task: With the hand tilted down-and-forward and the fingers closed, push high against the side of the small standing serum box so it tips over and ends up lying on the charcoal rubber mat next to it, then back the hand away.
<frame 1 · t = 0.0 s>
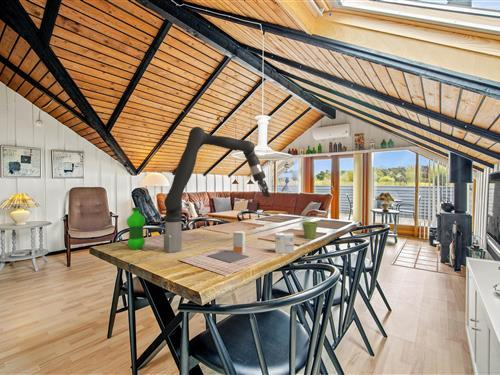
hand: (266, 196, 158), 31 cm above the table, tool tilted 20°, fingers open, 8 cm apart
plastic bottle: (136, 248, 155), on the table
skincare box: (239, 252, 145), on the table
light bulb box: (284, 252, 146), on the table
mat: (228, 256, 137), on the table
plant pot: (309, 238, 184), on the table
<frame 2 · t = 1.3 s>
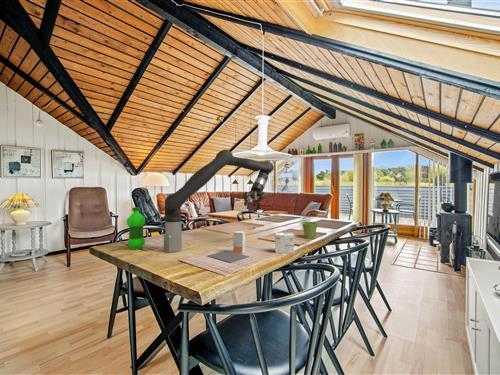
hand: (249, 205, 154), 26 cm above the table, tool tilted 45°, fingers open, 5 cm apart
nothing on the table moved.
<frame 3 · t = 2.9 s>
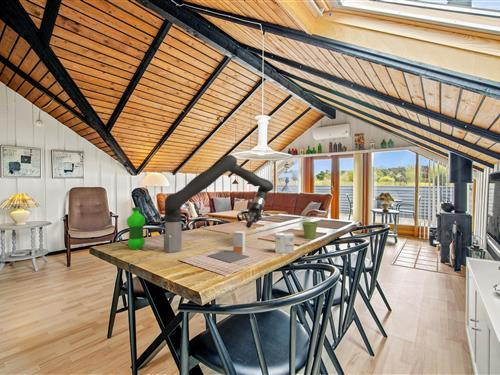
hand: (247, 227, 153), 13 cm above the table, tool tilted 45°, fingers closed
nothing on the table moved.
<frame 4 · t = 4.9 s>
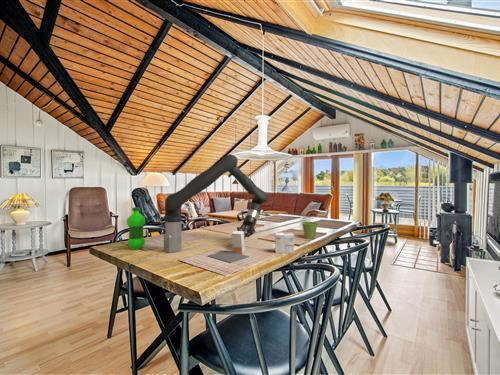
hand: (240, 241, 146), 6 cm above the table, tool tilted 45°, fingers closed
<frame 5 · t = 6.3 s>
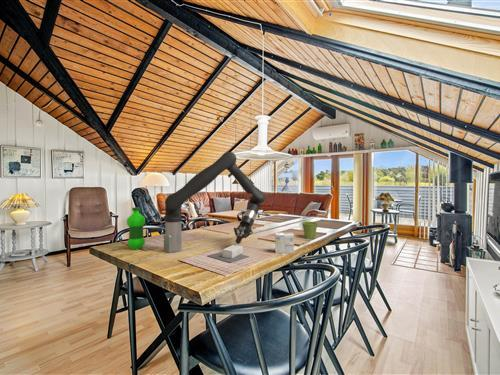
hand: (237, 243, 143), 6 cm above the table, tool tilted 45°, fingers closed
skincare box: (238, 248, 143), point 3 cm above the table, touching mat
everything else where it was.
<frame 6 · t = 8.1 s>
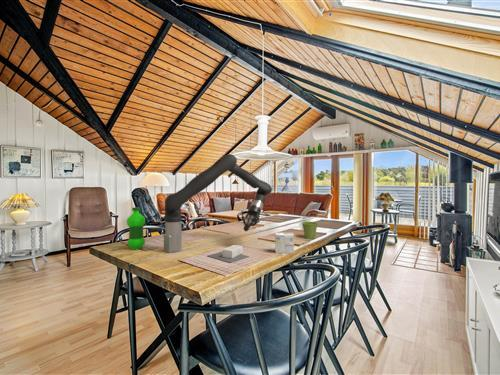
hand: (245, 230, 151), 12 cm above the table, tool tilted 45°, fingers closed
nothing on the table moved.
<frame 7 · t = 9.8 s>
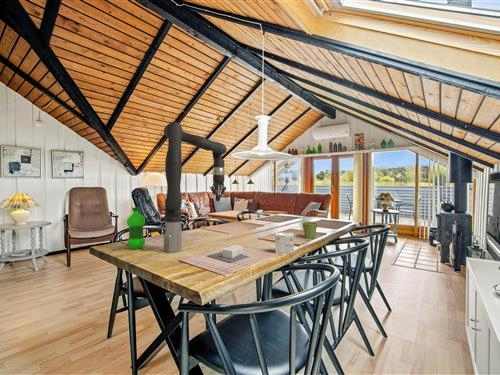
hand: (218, 201, 165), 28 cm above the table, tool pointing down, fingers closed
nothing on the table moved.
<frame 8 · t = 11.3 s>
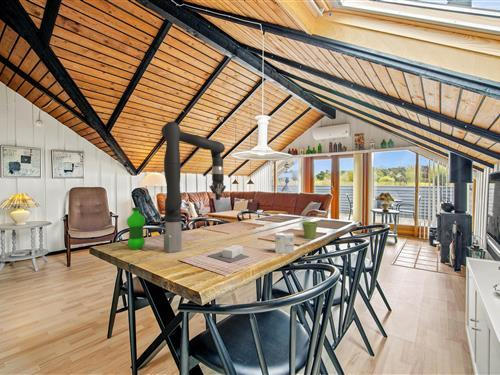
hand: (217, 199, 165), 29 cm above the table, tool pointing down, fingers closed
nothing on the table moved.
at the end: skincare box tilted 90°; skincare box inside the target area (6.6 cm from its centre), point 2.5 cm above the table; the gripper is holding nothing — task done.
